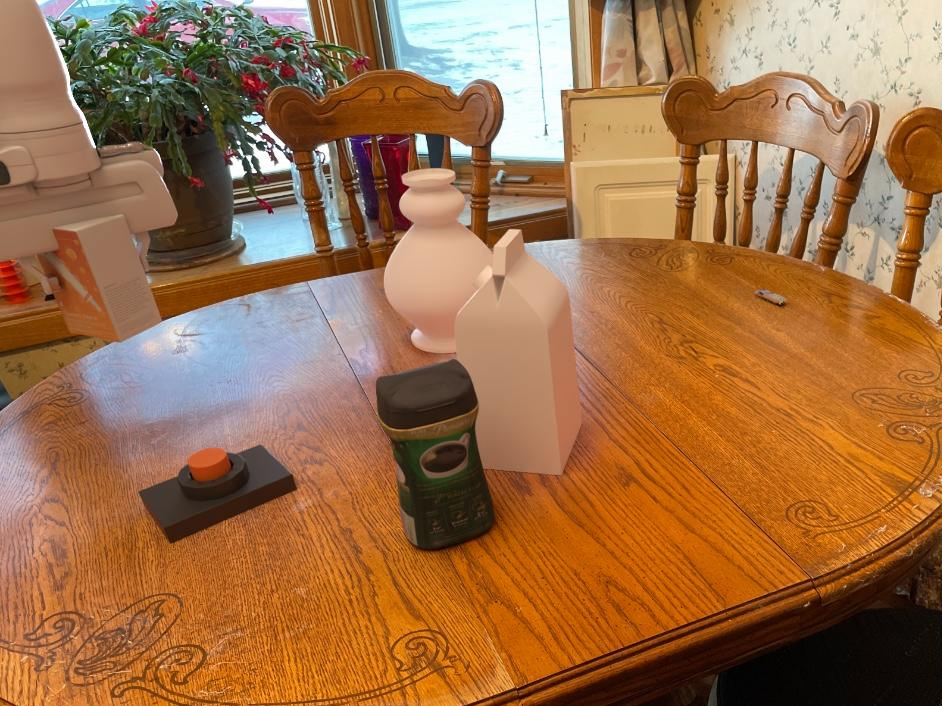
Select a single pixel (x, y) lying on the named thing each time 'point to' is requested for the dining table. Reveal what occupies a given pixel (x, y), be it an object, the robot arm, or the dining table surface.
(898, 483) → the dining table surface
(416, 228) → the decorative vase
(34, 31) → the robot arm
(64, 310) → the small box
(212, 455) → the button
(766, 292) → the granola bar
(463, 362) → the milk
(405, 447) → the coffee jar
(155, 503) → the black base plate
